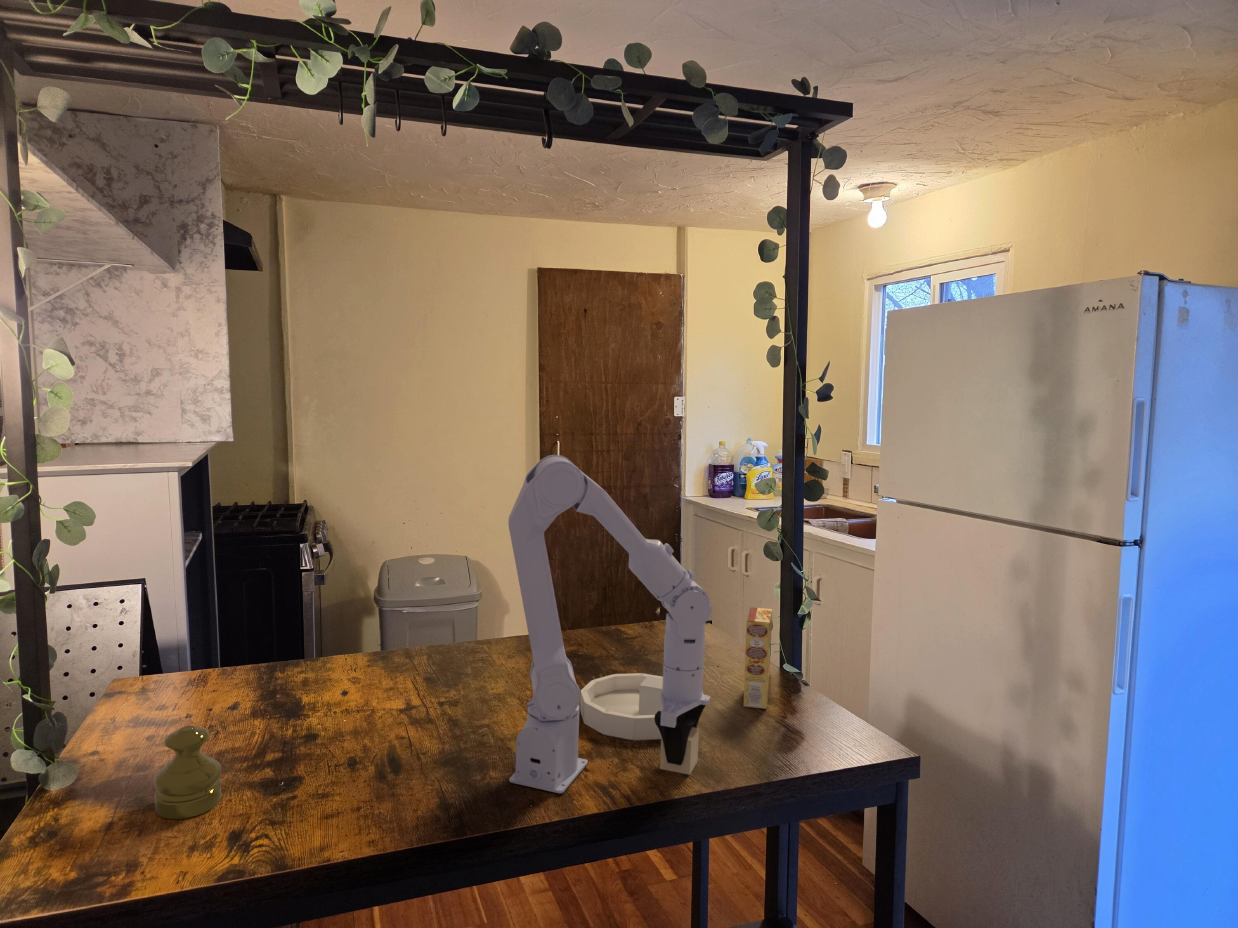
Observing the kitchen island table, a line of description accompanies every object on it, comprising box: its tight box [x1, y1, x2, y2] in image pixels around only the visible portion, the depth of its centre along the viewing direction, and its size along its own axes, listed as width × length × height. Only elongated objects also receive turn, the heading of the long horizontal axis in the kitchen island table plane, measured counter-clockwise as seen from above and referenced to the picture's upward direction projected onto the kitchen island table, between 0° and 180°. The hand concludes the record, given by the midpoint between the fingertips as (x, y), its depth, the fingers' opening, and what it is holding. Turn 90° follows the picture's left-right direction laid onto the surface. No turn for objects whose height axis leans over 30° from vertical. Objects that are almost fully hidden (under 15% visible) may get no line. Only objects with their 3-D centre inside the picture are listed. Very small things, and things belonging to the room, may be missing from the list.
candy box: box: [743, 607, 773, 710], centre depth 137 cm, size 9×4×15 cm, turn 167°
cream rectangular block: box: [659, 727, 700, 776], centre depth 113 cm, size 4×4×5 cm
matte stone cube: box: [639, 676, 663, 715], centre depth 128 cm, size 4×4×5 cm
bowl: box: [579, 672, 663, 741], centre depth 130 cm, size 18×18×4 cm
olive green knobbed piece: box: [153, 725, 223, 820], centre depth 98 cm, size 7×7×10 cm
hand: (679, 755), depth 113 cm, fingers closed on cream rectangular block, 4 cm apart
